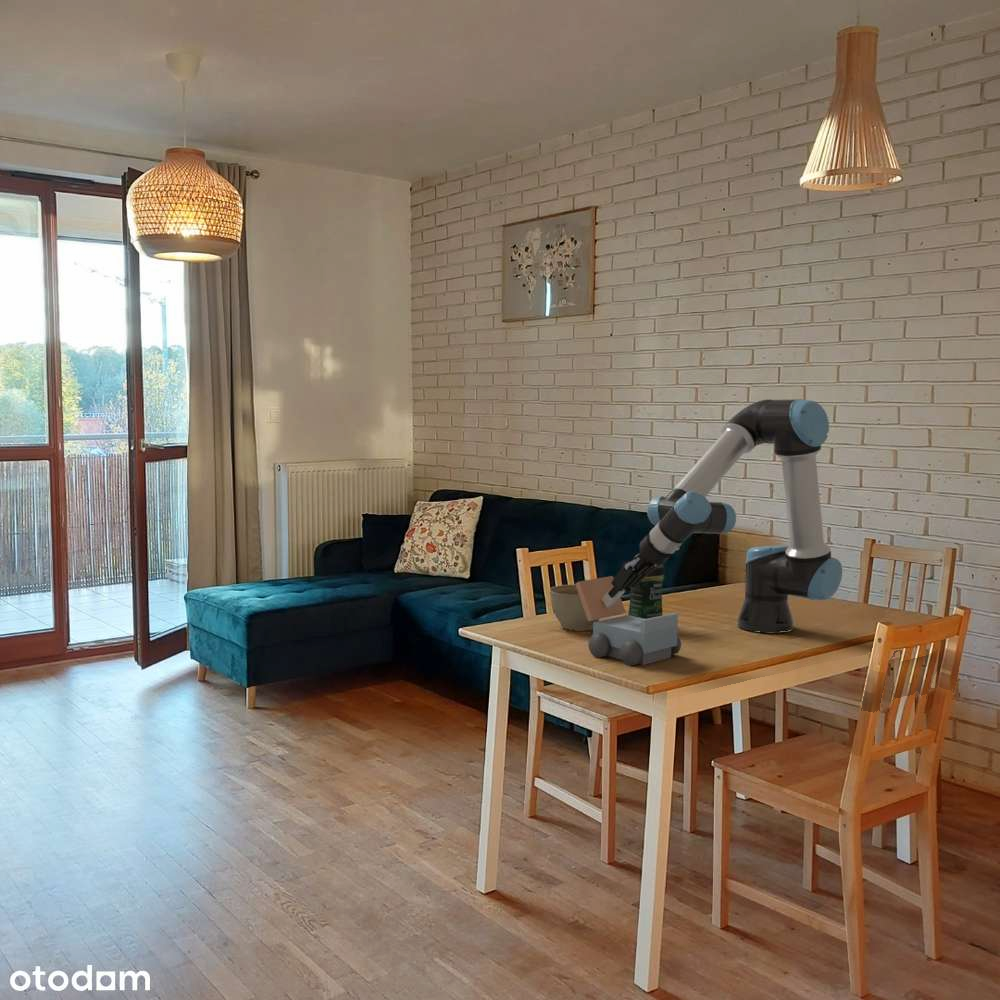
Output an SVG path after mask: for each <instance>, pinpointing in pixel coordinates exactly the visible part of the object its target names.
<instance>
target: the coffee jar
mask: <svg viewBox="0 0 1000 1000" xmlns="http://www.w3.org/2000/svg"><path fill="white" fill-rule="evenodd" d="M664 579H665V565H664V564H661V565H660V566H658V567H657V568H655V569H654V570H653V571H652V572H651V573H649V574H648V575H647V576H646V577H645V578H644V579H643V580H642V581H640V582H639V583H638V584H637V585H636V586H635V587H633V588H632V587H630V590H631V591H630V598H629V604H628V605H629V607H628V614H627V615H629V616H634V617H639V618H643V619H648V618H652V617H657V616H661V615H664V614H663V593H662V592H663V591H662V590H663V582H664Z"/></svg>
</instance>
